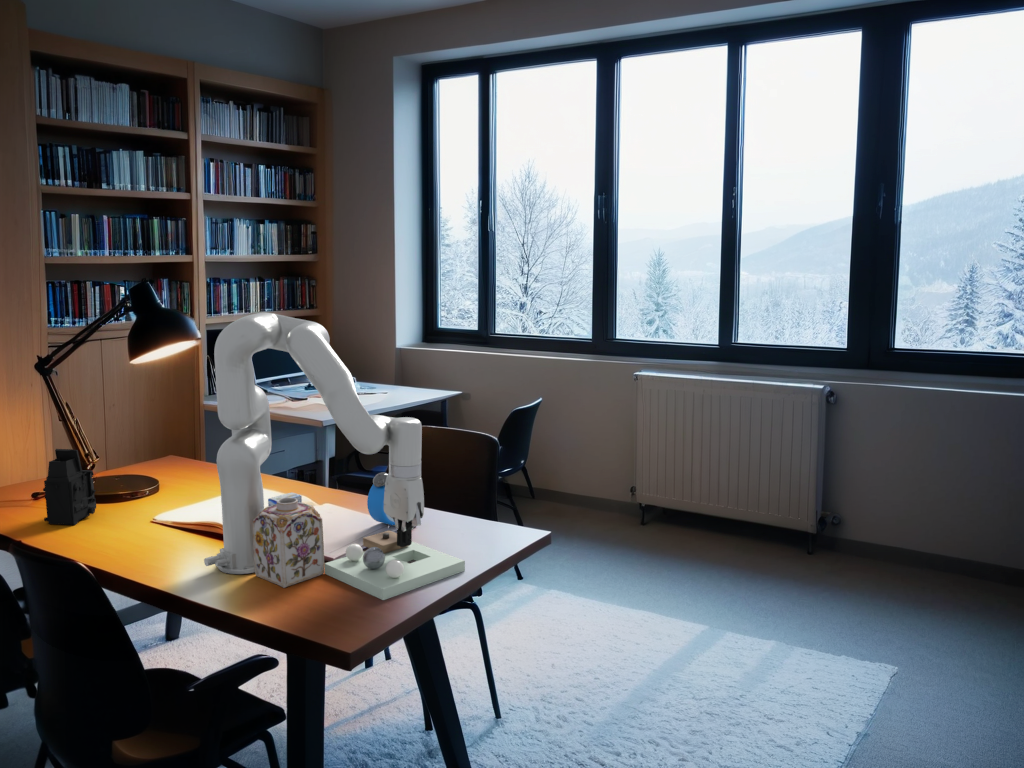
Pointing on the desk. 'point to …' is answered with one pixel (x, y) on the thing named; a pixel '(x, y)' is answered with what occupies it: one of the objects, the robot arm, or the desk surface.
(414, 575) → the board
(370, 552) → the ball
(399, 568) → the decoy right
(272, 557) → the decorative jar
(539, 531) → the desk surface
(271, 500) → the medicine box
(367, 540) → the lid
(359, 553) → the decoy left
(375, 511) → the alarm clock
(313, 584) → the desk surface
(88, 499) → the camera
